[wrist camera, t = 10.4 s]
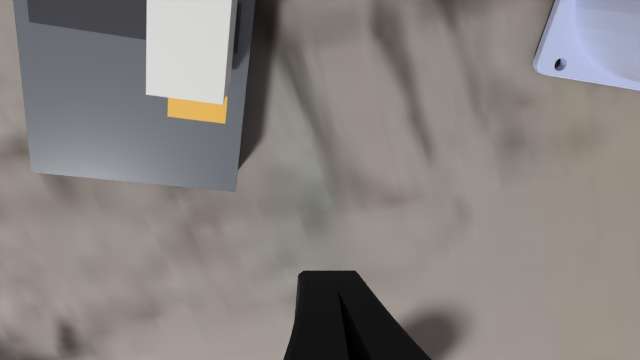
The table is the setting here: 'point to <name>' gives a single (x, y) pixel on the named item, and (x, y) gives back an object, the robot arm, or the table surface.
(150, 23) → the tab
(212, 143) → the switch block
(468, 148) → the table surface
